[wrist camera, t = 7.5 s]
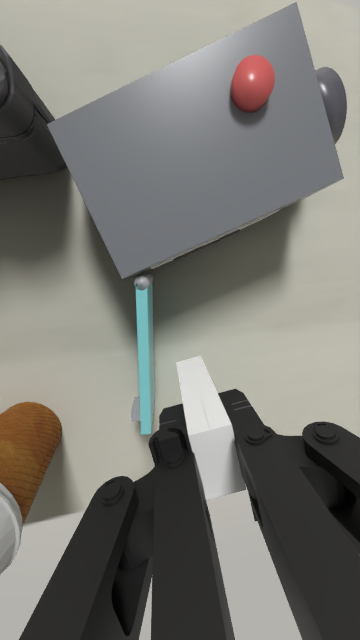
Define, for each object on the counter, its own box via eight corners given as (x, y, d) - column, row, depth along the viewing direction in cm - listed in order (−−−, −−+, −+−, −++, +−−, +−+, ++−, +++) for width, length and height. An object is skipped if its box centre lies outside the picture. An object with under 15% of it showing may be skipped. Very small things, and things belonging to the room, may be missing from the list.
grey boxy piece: (136, 278, 24) (121, 283, 16) (84, 168, 22) (40, 116, 14) (318, 195, 23) (391, 161, 16) (282, 74, 21) (347, -35, 14)
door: (132, 273, 23) (120, 276, 18) (153, 273, 24) (148, 276, 18) (137, 397, 26) (128, 434, 20) (155, 396, 26) (152, 434, 20)
